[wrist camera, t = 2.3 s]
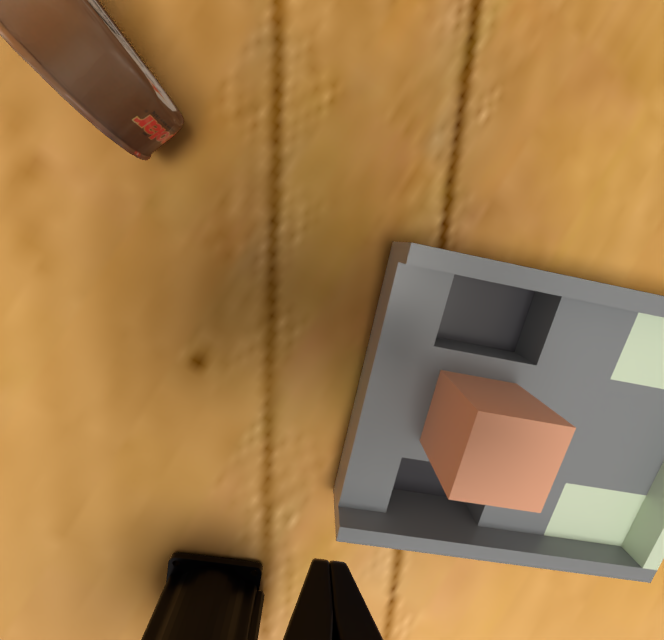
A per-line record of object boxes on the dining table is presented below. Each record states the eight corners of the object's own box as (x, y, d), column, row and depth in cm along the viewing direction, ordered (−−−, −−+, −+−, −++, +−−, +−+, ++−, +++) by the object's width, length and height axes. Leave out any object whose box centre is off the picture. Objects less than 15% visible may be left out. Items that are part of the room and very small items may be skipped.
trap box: (333, 489, 23) (336, 541, 19) (392, 241, 19) (411, 242, 15) (598, 528, 25) (650, 582, 21) (702, 307, 21) (790, 323, 17)
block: (419, 440, 20) (448, 499, 15) (440, 369, 18) (478, 411, 14) (492, 452, 20) (540, 513, 16) (516, 383, 19) (576, 427, 14)
